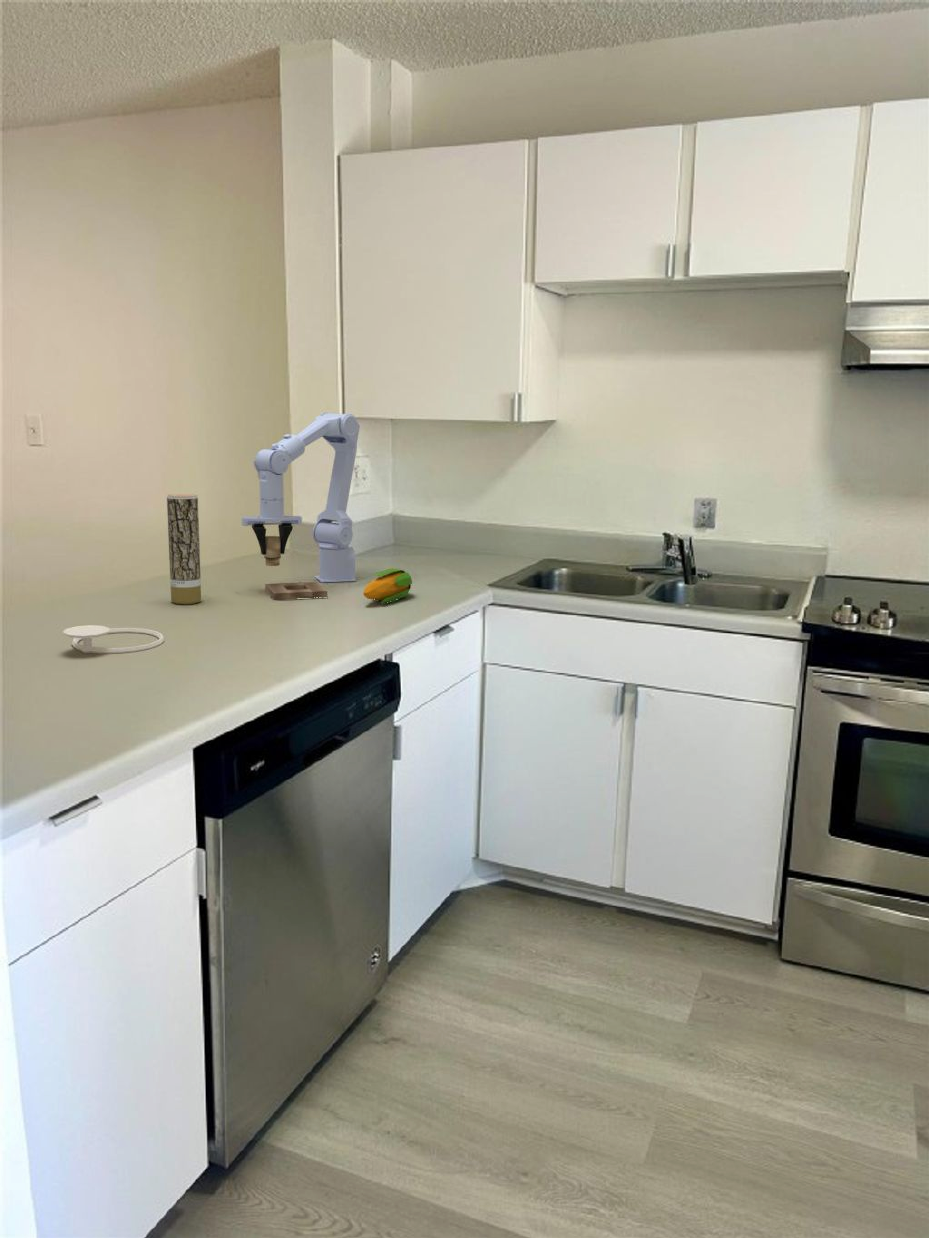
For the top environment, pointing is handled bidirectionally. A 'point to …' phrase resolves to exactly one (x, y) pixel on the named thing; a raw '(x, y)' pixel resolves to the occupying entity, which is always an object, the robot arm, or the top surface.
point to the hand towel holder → (96, 631)
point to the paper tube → (184, 548)
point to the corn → (389, 586)
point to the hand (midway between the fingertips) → (272, 553)
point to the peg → (273, 550)
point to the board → (295, 590)
